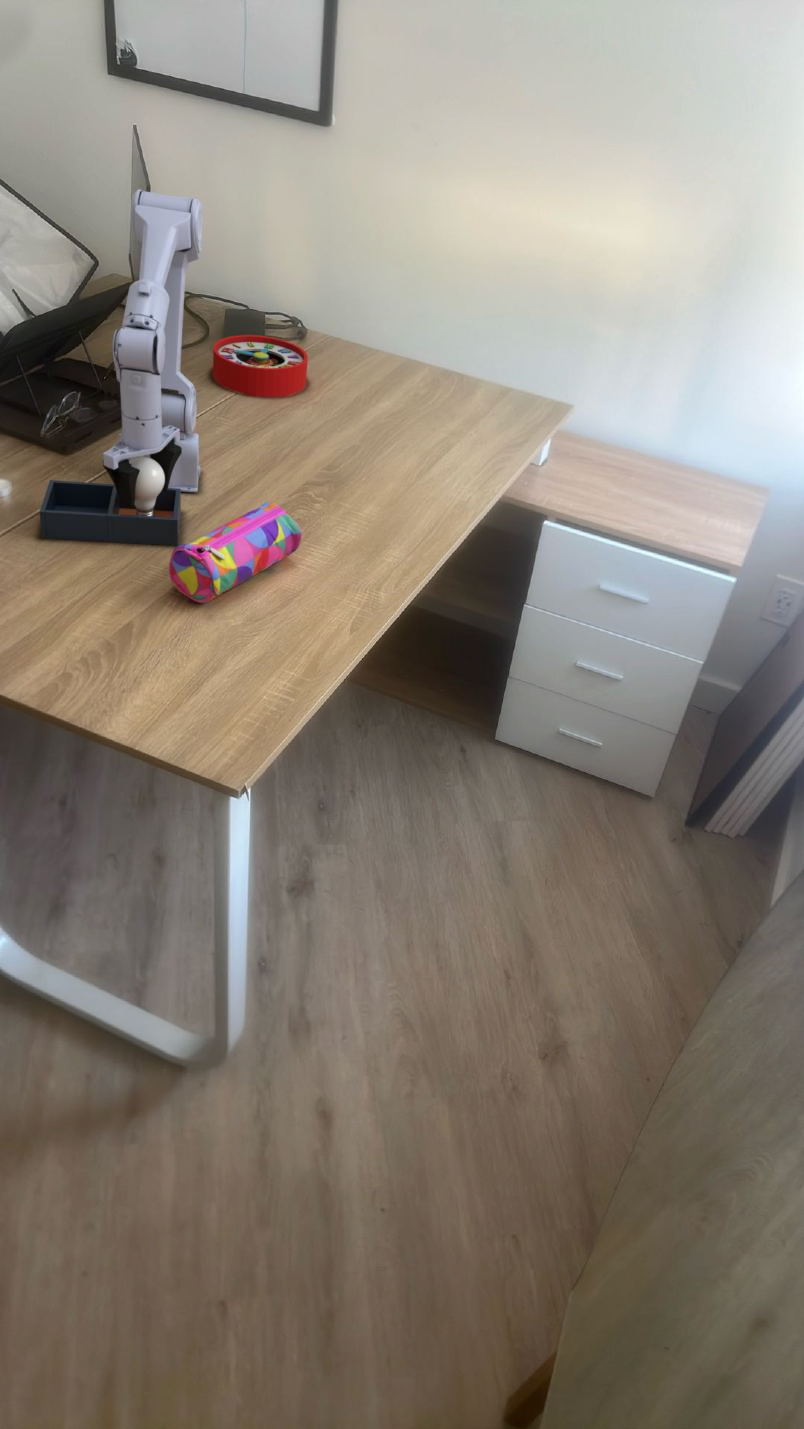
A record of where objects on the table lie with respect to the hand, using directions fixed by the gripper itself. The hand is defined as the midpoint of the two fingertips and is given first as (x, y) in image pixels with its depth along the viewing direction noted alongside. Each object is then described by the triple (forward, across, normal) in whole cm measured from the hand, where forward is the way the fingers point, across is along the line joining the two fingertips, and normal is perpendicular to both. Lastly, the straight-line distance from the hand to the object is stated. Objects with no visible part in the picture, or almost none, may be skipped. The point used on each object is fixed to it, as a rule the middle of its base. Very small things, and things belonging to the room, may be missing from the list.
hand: (144, 496), depth 147 cm
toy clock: (+6, -65, -26) cm, 70 cm away
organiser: (+5, +3, -4) cm, 7 cm away
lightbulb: (+5, 0, 0) cm, 5 cm away
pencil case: (+6, +2, +20) cm, 20 cm away
